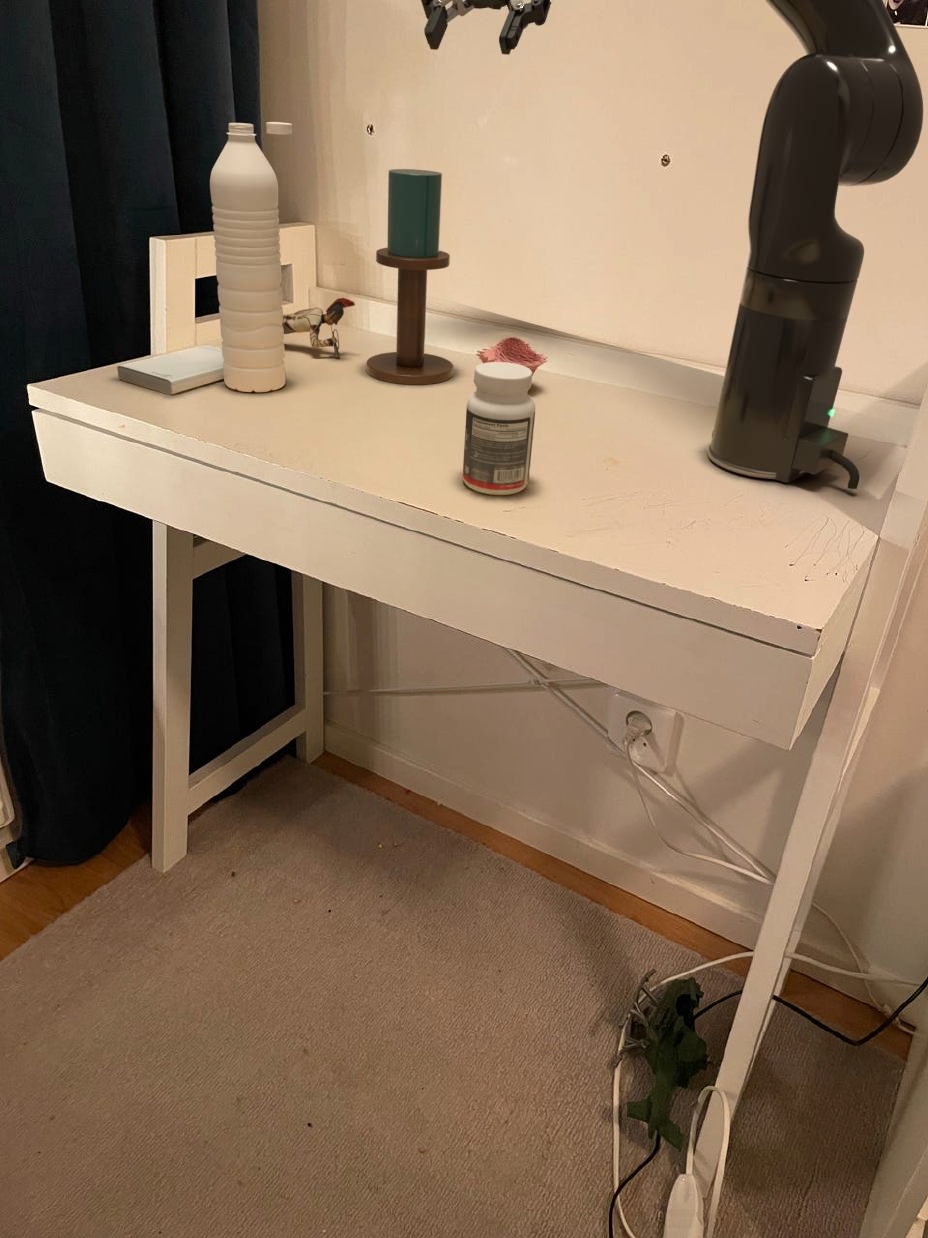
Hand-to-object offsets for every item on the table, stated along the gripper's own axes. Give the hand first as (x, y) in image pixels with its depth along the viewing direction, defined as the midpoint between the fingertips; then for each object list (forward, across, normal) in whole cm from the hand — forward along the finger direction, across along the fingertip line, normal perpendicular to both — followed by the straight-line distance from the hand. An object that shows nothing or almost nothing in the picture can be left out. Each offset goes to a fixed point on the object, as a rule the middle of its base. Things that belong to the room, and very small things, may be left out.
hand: (467, 45), depth 100 cm
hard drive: (+42, -19, +4) cm, 47 cm away
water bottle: (+41, -11, +6) cm, 43 cm away
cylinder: (+22, 0, +6) cm, 23 cm away
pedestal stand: (+31, 0, +15) cm, 35 cm away
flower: (+31, +12, +16) cm, 37 cm away
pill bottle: (+50, +21, -3) cm, 54 cm away
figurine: (+31, -16, +15) cm, 38 cm away
